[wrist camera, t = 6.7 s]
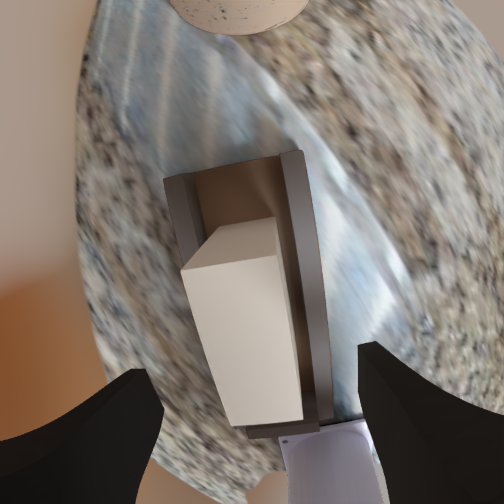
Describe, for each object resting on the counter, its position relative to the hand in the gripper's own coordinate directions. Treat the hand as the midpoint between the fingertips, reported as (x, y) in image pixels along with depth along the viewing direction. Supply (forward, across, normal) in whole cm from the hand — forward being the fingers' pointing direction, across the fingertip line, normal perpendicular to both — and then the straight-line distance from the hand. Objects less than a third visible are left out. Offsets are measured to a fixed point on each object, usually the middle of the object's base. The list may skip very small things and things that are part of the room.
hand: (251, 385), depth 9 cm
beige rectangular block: (+8, 0, 0) cm, 8 cm away
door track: (+9, 0, +1) cm, 9 cm away
